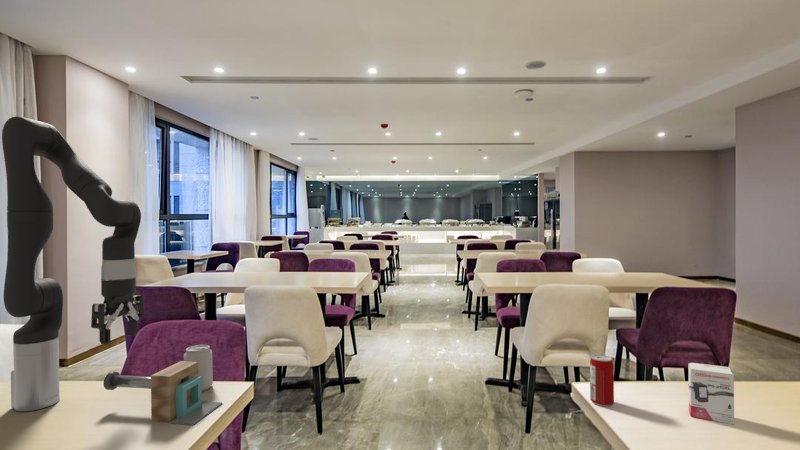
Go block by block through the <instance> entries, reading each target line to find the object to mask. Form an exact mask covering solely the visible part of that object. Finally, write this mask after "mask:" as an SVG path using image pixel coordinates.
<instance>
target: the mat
mask: <svg viewBox="0 0 800 450" xmlns="http://www.w3.org/2000/svg"><path fill="white" fill-rule="evenodd" d="M222 405H223V402H221V401H218V402H217V401H205V400H202V405H201V406H200V407H198V408H197V409H195V410H194V411H192V412H191V413H190V414H188V415H187V416H185V417H184V418H176V419H174V420H173V421H171V422H170V424H173V425H174V424H175V425H187V426H194V425H196V424H197V423H198V422H200V421H201V420H202V419H204V418H205V417H208V415H209V414H211V413H212V412H213V411H215V410H217V409H218V408H219V407H221V406H222Z"/></svg>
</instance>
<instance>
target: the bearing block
mask: <svg viewBox="0 0 800 450" xmlns="http://www.w3.org/2000/svg"><path fill="white" fill-rule="evenodd" d="M194 376H198V362H190V361H184V360H179V361H178V362H177V363H174V364H172V365H170V366H168V367H165V368H163V369H162V370H159V371H157V372H155V373H154V374H151V375H150V377H151V389H150V404H151V405H150V408H151V409H150V410H151V411H150V413H151V415H150V416H151V420H150V421H151V422H156V423H157V422H158V423H171V421H173V420H174V419H176V418H177V417H176V408H175V387H176V386H178V385H180V380H181V379H183V380H184V382H185V381H187V380H189V379H191V378H192V377H194ZM186 393H187V404H188V403H190V402H191V389H189V390H187V391H186Z"/></svg>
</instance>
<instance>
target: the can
mask: <svg viewBox="0 0 800 450" xmlns="http://www.w3.org/2000/svg"><path fill="white" fill-rule="evenodd" d="M210 347H211V346H210V345H207V344H197V345H191V346H189V347H187V348H186V349H185V351H186V352H185V353H183V361H190V362H198V377H201V384H202V392H204V391H207V390H209V389H210V388H211V387H212V385H213V383H214V382H213V381H214V379H213V350H212V349H210Z"/></svg>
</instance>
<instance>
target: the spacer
mask: <svg viewBox="0 0 800 450" xmlns="http://www.w3.org/2000/svg"><path fill="white" fill-rule="evenodd" d="M189 389H191V402H190V403H188V404H187V393H186V391H187V390H189ZM202 392H203V391H202V384H201V377H198V376H194V377H192V378H191V379H189V380H187V381H185V382H183V383H182V384H180V385H178V386H176V387H175V408H176V417H177V418H184V417H185V416H187V415H188V414H190V413H191V412H192V411H194V410H195V409H197V408H198V407H200V406H201V405H202V401H203V400H202V398H203V397H202V394H203V393H202Z"/></svg>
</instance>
